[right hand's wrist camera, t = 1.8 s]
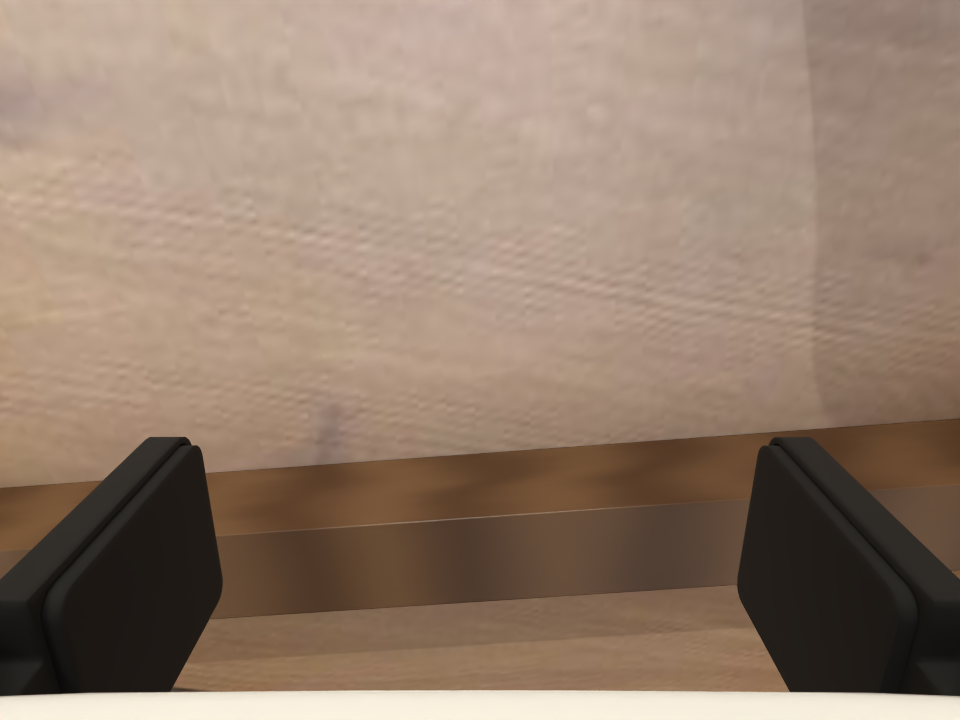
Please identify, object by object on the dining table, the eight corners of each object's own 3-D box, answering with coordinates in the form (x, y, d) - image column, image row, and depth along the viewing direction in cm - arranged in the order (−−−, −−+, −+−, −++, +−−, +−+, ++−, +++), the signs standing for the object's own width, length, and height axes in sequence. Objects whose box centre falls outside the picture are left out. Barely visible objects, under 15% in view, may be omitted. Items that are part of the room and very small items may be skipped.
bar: (1166, 403, 37) (1302, 460, 31) (1142, 482, 39) (1265, 551, 33) (-182, 500, 39) (-303, 571, 33) (-147, 570, 41) (-256, 650, 35)
